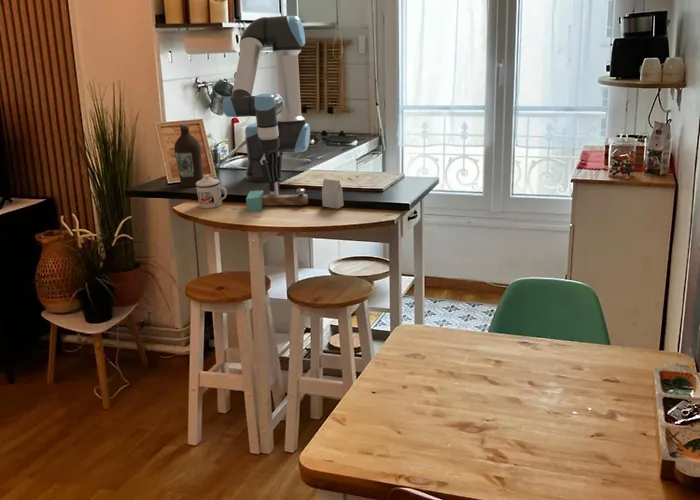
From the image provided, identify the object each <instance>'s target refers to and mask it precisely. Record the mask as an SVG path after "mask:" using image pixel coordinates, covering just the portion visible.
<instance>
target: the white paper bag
mask: <svg viewBox="0 0 700 500" xmlns="http://www.w3.org/2000/svg"><path fill="white" fill-rule="evenodd" d="M321 198H322V199H321V200H322V201H321V202H322V207H325V208H331V209H337V210H338V209H340V208H342V207H343V206H345V205H344V192H343V187H342V185H341V182H340V180H338V179H330V178H329V179H328V178H324V179H323V182H322V189H321Z"/></svg>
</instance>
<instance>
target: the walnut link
mask: <svg viewBox="0 0 700 500" xmlns="http://www.w3.org/2000/svg"><path fill="white" fill-rule="evenodd" d="M308 204H309V197H308V194H307V193H304V195H302V196H299V195H298V193H297V194H279V195H271V194H269V195H266V194H265V195H264V194H263V195H262V206H294V205H295V206H306V205H308Z"/></svg>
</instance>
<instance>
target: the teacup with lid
mask: <svg viewBox="0 0 700 500" xmlns="http://www.w3.org/2000/svg"><path fill="white" fill-rule="evenodd" d="M220 184H221V182H220V181H219V179H217V178H213V177H211V176H210V174H206V175H203V179H201V180H200V181H198V182H196V186H195V187H196V194H197V200H198V207H200V208H203V209H214V208H217V207H220V206H222V203H223V200H224V199H226V198H227V195H228V191H227V188H225V187H223V186H221V185H220ZM221 190H223V192H224V195H223V197H222V193H221Z"/></svg>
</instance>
